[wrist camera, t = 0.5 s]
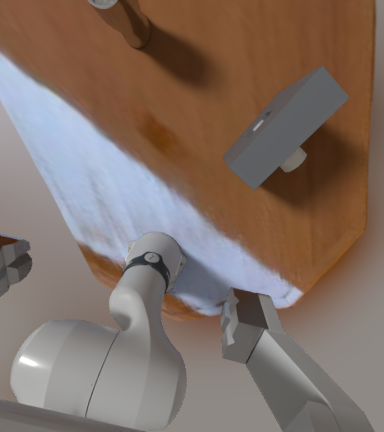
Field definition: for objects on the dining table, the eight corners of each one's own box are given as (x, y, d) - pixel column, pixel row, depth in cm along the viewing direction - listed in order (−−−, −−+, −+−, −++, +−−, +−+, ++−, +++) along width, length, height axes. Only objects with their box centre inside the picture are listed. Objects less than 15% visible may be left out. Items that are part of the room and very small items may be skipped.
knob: (300, 152, 42) (311, 154, 37) (281, 170, 43) (289, 174, 39) (263, 114, 39) (271, 112, 35) (245, 135, 41) (250, 135, 37)
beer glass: (159, 24, 41) (133, -34, 27) (142, 58, 43) (111, 22, 29) (130, -1, 39) (87, -74, 26) (115, 36, 42) (68, -13, 28)
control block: (298, 113, 44) (351, 99, 28) (240, 173, 51) (255, 192, 34) (279, 92, 43) (322, 65, 27) (222, 156, 49) (228, 167, 33)
